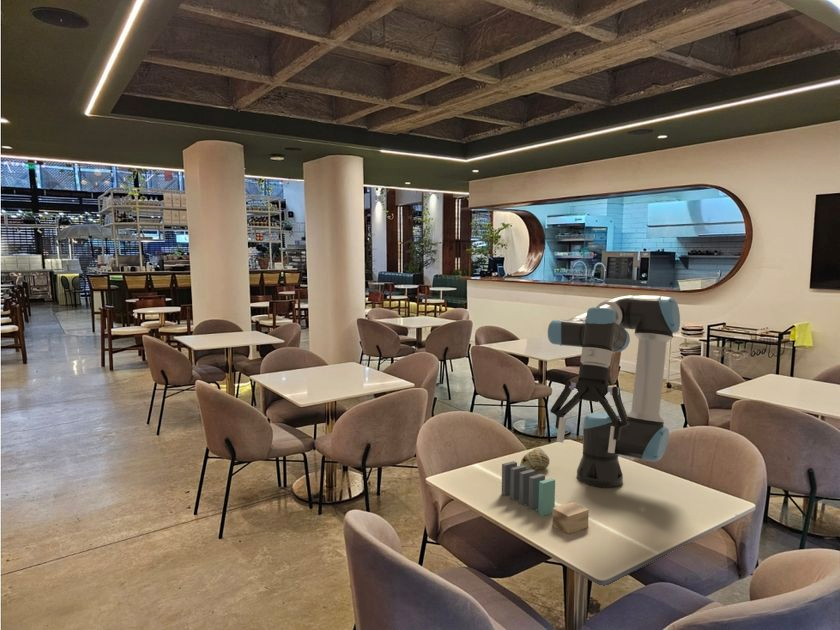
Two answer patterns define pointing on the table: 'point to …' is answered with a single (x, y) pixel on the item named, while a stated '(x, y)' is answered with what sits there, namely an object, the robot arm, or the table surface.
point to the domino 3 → (525, 486)
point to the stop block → (570, 517)
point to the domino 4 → (534, 491)
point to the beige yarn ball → (535, 460)
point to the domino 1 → (507, 476)
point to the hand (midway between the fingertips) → (584, 447)
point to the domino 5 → (546, 497)
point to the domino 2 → (515, 481)
